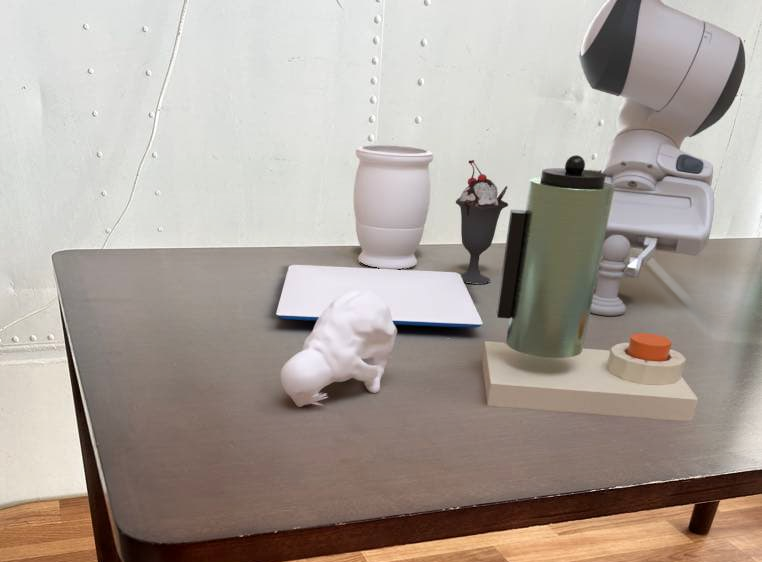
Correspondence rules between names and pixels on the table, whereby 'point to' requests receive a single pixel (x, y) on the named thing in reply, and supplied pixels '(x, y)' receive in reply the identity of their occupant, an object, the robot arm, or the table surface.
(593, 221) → the kettle
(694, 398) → the kettle base
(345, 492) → the table surface
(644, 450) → the table surface
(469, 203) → the sundae
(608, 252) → the chess piece
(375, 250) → the jar
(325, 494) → the table surface
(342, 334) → the white hunched creature figure
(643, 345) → the kettle switch
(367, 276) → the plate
